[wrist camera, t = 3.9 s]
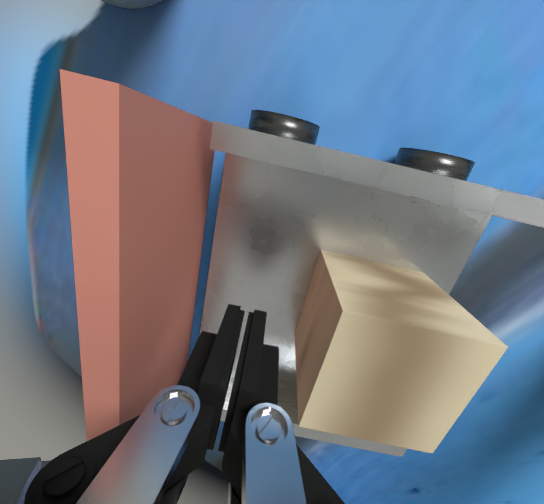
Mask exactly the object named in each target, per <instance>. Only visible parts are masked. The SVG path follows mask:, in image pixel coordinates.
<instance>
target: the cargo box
mask: <svg viewBox="0 0 544 504" xmlns="http://www.w3.org/2000/svg"><path fill="white" fill-rule="evenodd" d="M294 338H295V359H296V380H297V401H298V421H299V427H304V428H309V429H314V430H319V431H324V432H329V433H334V434H339V435H344V436H349V437H353V438H358V439H363V440H368V441H373V442H378V443H383V444H388V445H393V446H398V447H403V448H408V449H413V450H418V451H423V452H428V453H433V452H434V451H435V449H436V448H437V446H438V445H439V444H440V442H441V441H442V439H443V438H444V437H445V435H446V434H447V432H448V431H449V430H450V428H451V427H452V425H453V424H454V423H455V421H456V420H457V418H458V417H459V415H460V414H461V413H462V411H463V410H464V408H465V407H466V406H467V404H468V403H469V401H470V400H471V399H472V397H473V396H474V394H475V393H476V392H477V390H478V389H479V387H480V386H481V385H482V383H483V382H484V380H485V379H486V378H487V376H488V375H489V373H490V372H491V370H492V369H493V368H494V366H495V365H496V363H497V362H498V361H499V359H500V358H501V356H502V355H503V354H504V352H505V351H506V349H507V348H508V347H507V346H506V345H505V344H504V343H503V342H502V341H501V340H499V339H498V338H497V337H496V336H495V335H494V334H493V333H491V332H490V331H489V330H488V329H487V328H486V327H485V326H484V325H482V324H481V323H480V322H479V321H478V320H477V319H476V318H474V317H473V316H472V315H471V314H470V313H469V312H468V311H466V310H465V309H464V308H463V307H462V306H461V305H460V304H459V303H457V302H456V301H455V300H454V299H453V298H452V297H451V296H449V295H448V294H447V293H446V292H445V291H444V290H443V289H442V288H440V287H439V286H438V285H437V284H436V283H435V282H434V281H432V280H431V279H430V278H429V277H428V276H427V275H426V274H424V273H423V272H419V271H415V270H410V269H406V268H401V267H397V266H392V265H388V264H383V263H379V262H375V261H370V260H366V259H361V258H357V257H352V256H348V255H344V254H339V253H335V252H330V251H326V250H320V253H319V257H318V260H317V263H316V266H315V269H314V273H313V276H312V279H311V282H310V286H309V289H308V292H307V295H306V298H305V302H304V305H303V308H302V311H301V314H300V318H299V321H298V324H297V327H296V330H295V334H294Z"/></svg>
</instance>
